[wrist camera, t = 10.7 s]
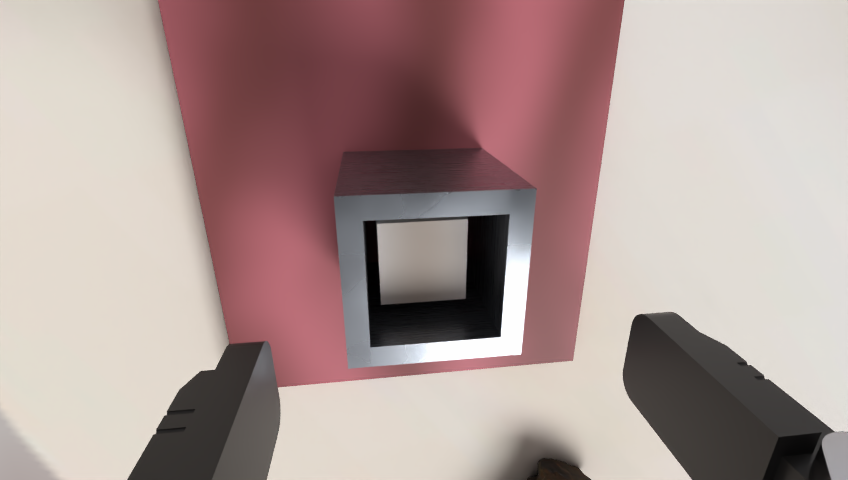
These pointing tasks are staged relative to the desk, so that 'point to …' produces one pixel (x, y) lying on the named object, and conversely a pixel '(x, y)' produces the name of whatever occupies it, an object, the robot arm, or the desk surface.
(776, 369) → the desk surface
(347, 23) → the post base
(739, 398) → the robot arm
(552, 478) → the hand tool
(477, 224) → the square socket
